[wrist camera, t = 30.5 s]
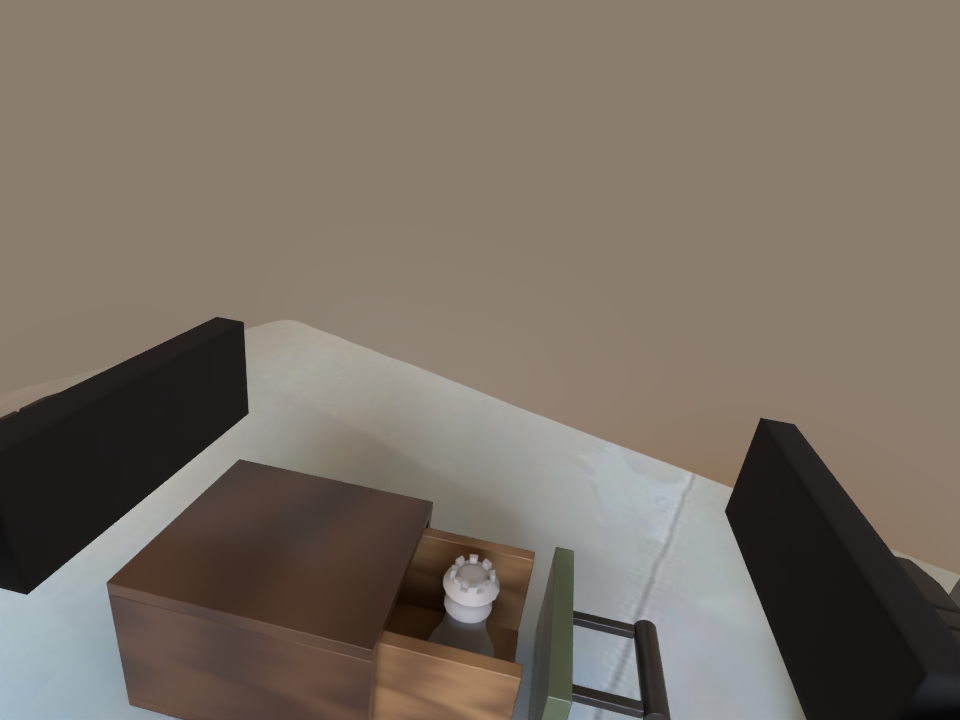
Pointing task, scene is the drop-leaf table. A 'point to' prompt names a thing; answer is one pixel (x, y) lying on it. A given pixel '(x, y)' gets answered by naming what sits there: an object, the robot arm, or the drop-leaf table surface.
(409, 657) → the drawer
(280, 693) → the cabinet
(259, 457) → the drop-leaf table surface
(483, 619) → the rook chess piece
